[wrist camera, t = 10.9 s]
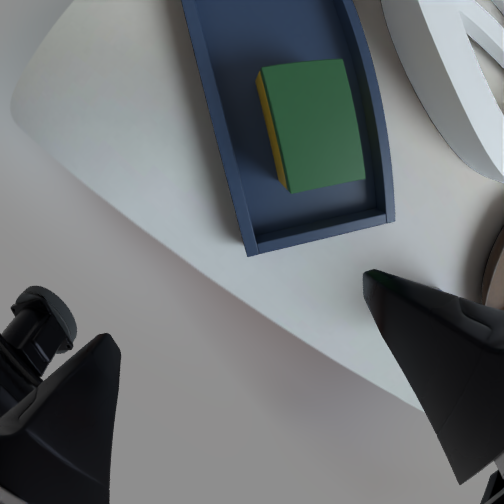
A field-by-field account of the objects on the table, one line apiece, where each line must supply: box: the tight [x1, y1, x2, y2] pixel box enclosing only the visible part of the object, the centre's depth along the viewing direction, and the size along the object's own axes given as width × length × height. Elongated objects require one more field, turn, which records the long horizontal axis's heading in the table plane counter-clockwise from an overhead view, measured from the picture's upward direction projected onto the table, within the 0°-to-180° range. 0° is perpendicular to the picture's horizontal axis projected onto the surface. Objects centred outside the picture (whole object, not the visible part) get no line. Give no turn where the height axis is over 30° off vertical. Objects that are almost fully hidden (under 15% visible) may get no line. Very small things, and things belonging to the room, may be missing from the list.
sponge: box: [255, 59, 366, 194], centre depth 15 cm, size 4×7×4 cm, turn 13°
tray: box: [181, 0, 395, 257], centre depth 15 cm, size 11×22×2 cm, turn 13°
